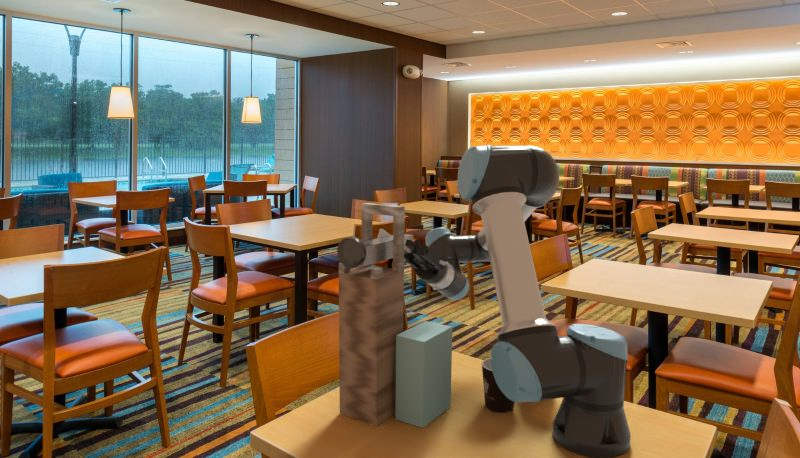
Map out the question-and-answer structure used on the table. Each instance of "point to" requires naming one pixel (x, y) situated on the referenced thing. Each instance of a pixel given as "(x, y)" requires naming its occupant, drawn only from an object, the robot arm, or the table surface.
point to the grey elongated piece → (366, 251)
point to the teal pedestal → (423, 373)
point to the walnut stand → (371, 326)
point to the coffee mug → (494, 391)
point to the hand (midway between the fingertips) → (388, 235)
